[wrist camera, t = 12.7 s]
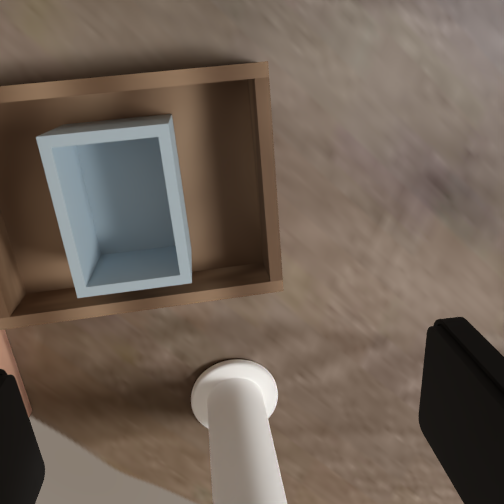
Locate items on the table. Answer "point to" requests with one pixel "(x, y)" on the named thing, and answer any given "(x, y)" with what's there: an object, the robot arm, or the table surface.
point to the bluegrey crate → (119, 203)
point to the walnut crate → (193, 182)
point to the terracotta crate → (12, 367)
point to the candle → (239, 432)
